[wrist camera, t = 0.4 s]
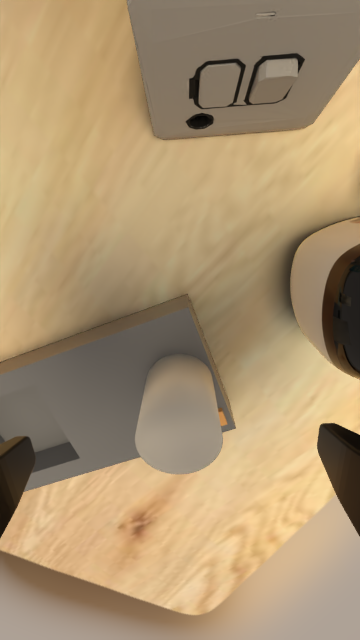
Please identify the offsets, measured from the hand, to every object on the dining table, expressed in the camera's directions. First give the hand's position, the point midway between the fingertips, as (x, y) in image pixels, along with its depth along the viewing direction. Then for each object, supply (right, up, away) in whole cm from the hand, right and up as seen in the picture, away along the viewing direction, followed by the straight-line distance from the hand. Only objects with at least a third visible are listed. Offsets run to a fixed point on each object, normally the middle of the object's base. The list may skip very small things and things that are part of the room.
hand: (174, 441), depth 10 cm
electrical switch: (+3, +17, +8) cm, 20 cm away
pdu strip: (-9, -3, +16) cm, 18 cm away
